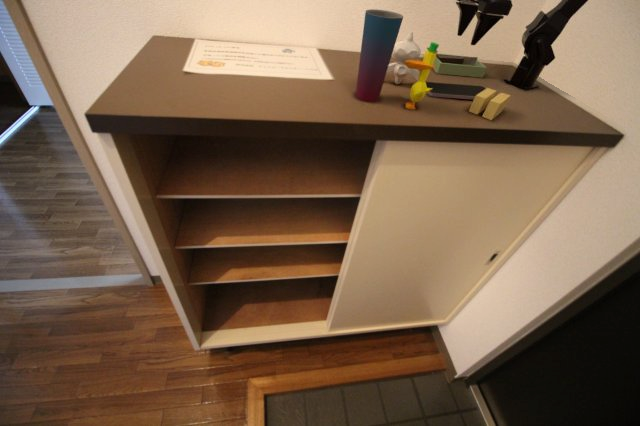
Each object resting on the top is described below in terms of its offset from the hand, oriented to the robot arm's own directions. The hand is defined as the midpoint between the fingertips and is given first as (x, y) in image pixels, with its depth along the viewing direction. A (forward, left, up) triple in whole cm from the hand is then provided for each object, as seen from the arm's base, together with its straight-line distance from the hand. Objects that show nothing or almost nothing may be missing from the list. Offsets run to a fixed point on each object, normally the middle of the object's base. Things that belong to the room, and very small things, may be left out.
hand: (465, 40), depth 76 cm
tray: (0, 0, -8) cm, 8 cm away
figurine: (+25, +4, -8) cm, 26 cm away
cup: (+37, +8, -8) cm, 39 cm away
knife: (-5, +3, -5) cm, 7 cm away
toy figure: (+31, +15, -8) cm, 35 cm away
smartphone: (+14, +13, -8) cm, 21 cm away
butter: (+15, +22, -8) cm, 28 cm away
